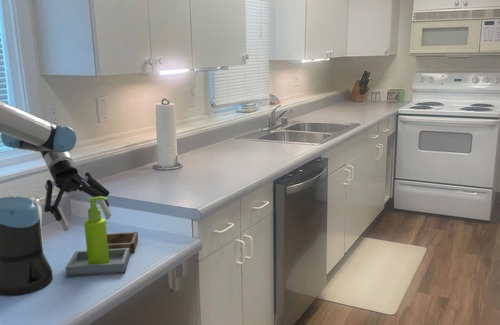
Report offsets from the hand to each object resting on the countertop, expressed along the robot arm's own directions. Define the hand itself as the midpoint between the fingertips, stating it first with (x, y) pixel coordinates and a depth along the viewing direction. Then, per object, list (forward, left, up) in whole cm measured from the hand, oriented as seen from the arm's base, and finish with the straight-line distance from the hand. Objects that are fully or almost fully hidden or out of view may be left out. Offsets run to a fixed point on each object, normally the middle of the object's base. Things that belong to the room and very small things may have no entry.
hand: (88, 222), depth 147 cm
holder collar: (+6, +10, -12) cm, 17 cm away
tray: (+3, -5, -12) cm, 13 cm away
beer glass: (-23, +20, -12) cm, 33 cm away
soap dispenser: (+3, -5, -11) cm, 13 cm away
